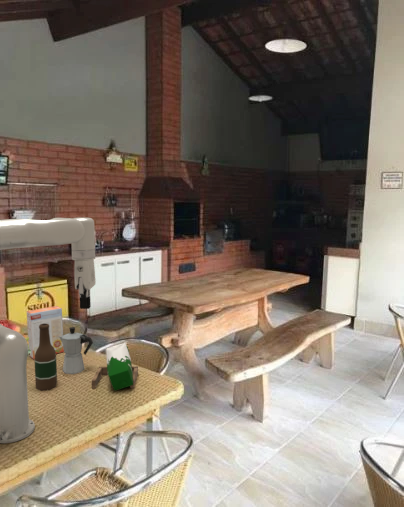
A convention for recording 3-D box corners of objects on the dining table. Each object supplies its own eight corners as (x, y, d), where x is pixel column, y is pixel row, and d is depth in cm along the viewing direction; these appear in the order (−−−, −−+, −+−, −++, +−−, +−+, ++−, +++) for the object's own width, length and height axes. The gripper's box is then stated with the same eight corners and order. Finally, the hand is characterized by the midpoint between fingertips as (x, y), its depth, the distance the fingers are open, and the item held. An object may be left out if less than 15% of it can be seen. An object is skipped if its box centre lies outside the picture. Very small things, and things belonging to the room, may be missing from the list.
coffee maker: (53, 373, 171) (52, 329, 169) (64, 364, 180) (63, 323, 177) (88, 376, 168) (87, 332, 166) (97, 367, 177) (96, 325, 175)
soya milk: (129, 367, 154) (125, 338, 172) (105, 375, 152) (103, 344, 170) (136, 386, 157) (131, 355, 175) (112, 394, 156) (110, 362, 174)
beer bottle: (50, 392, 154) (47, 328, 151) (31, 390, 156) (28, 326, 153) (61, 383, 162) (59, 322, 159) (43, 381, 164) (40, 320, 160)
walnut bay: (133, 388, 158) (133, 380, 158) (92, 388, 158) (91, 380, 157) (137, 373, 171) (137, 366, 171) (99, 373, 171) (99, 366, 170)
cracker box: (59, 348, 198) (57, 305, 195) (64, 352, 194) (62, 307, 191) (28, 355, 189) (26, 310, 186) (32, 359, 185) (30, 313, 182)
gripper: (89, 258, 134) (91, 314, 137) (99, 251, 149) (100, 302, 152) (65, 257, 134) (67, 314, 137) (78, 251, 149) (79, 302, 151)
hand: (85, 308), depth 144 cm, fingers closed
